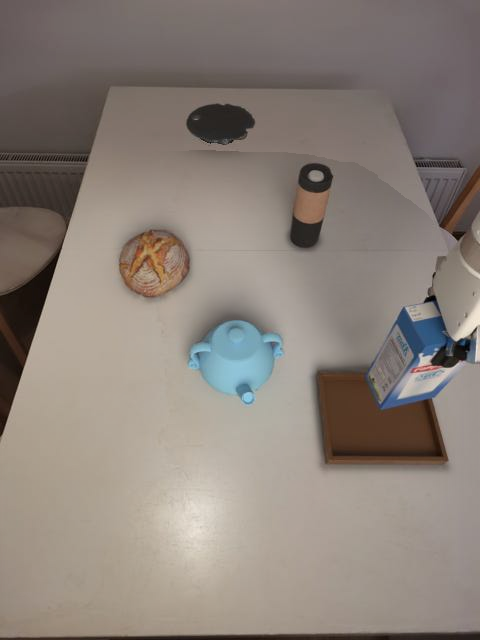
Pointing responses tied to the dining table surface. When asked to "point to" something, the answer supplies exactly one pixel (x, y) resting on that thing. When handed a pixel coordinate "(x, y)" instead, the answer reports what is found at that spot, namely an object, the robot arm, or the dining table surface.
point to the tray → (375, 426)
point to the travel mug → (310, 204)
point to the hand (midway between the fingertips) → (435, 338)
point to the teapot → (236, 358)
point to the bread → (153, 263)
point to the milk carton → (411, 358)
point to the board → (220, 123)
